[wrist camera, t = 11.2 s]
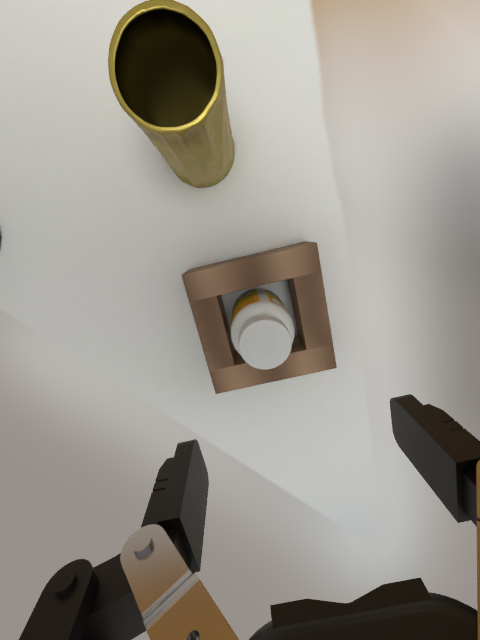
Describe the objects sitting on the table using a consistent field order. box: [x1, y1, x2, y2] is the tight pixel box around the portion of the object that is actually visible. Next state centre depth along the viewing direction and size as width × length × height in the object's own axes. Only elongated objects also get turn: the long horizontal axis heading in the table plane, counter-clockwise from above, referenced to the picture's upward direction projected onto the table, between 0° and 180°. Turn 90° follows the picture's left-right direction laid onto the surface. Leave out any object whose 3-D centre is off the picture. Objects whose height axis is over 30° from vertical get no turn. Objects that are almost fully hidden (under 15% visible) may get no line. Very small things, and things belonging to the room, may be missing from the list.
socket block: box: [182, 242, 337, 394], centre depth 30 cm, size 12×12×4 cm
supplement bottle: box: [231, 289, 295, 370], centre depth 27 cm, size 5×5×10 cm
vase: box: [108, 0, 234, 187], centre depth 20 cm, size 6×6×14 cm
